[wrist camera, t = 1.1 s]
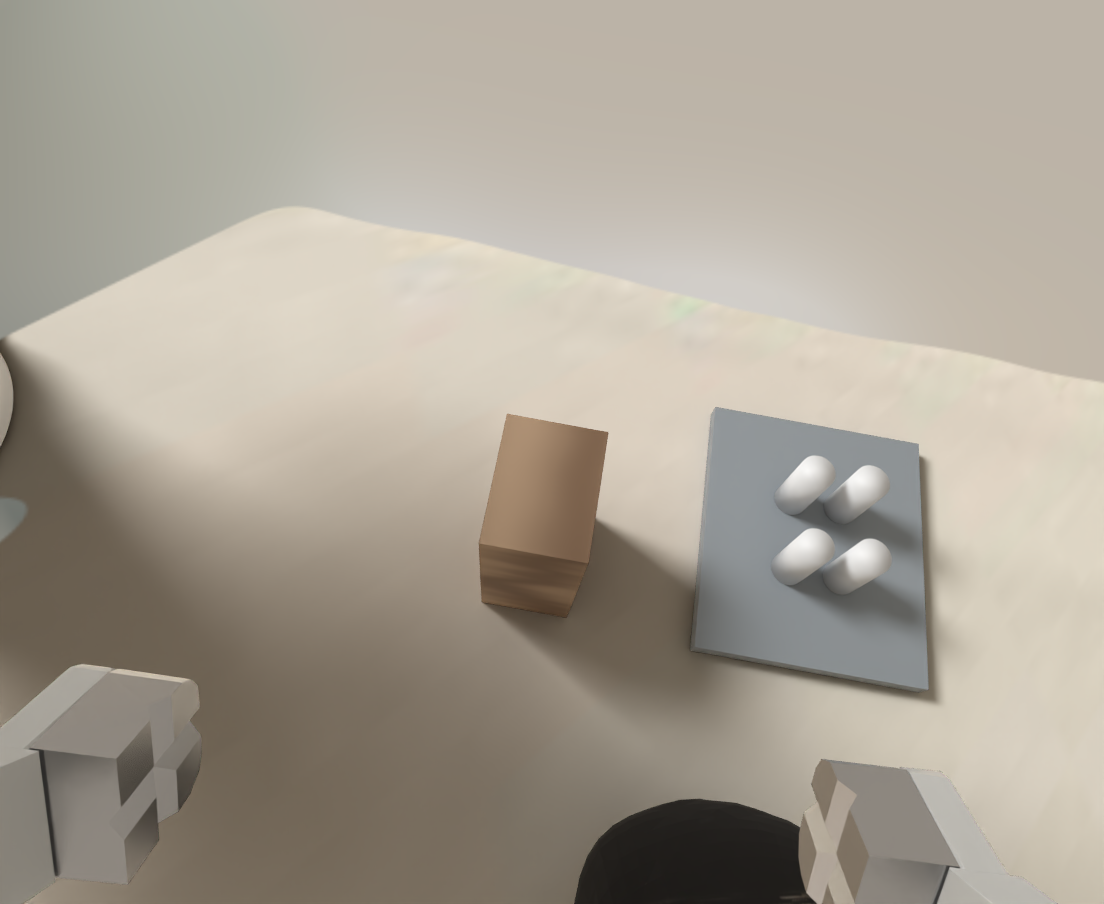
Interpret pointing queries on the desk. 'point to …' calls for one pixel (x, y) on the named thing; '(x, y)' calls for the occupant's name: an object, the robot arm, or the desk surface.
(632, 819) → the toy
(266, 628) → the desk surface
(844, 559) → the stand
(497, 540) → the block
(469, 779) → the desk surface
